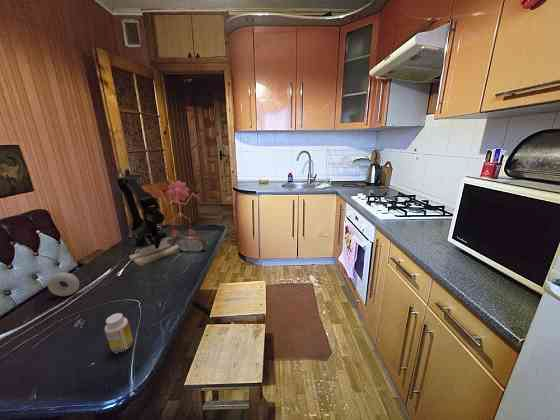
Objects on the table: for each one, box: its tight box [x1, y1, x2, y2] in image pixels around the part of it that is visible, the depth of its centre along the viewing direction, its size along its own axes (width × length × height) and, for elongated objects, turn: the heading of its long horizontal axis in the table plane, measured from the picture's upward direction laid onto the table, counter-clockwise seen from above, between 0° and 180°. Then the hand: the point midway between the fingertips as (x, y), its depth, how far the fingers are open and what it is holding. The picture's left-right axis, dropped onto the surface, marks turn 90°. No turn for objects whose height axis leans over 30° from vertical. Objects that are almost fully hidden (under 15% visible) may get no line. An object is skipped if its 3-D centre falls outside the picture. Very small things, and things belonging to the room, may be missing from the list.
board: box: [128, 243, 182, 267], centre depth 125 cm, size 13×22×2 cm, turn 142°
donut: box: [47, 272, 80, 297], centre depth 92 cm, size 10×4×10 cm, turn 103°
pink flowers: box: [154, 180, 202, 239], centre depth 142 cm, size 15×26×35 cm, turn 96°
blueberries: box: [73, 318, 88, 329], centre depth 78 cm, size 7×8×2 cm
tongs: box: [136, 236, 177, 257], centre depth 125 cm, size 18×3×4 cm, turn 142°
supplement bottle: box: [104, 312, 134, 354], centre depth 68 cm, size 6×6×10 cm
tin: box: [176, 235, 207, 253], centre depth 126 cm, size 15×3×8 cm, turn 84°
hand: (155, 247), depth 124 cm, fingers closed on tongs, 3 cm apart
